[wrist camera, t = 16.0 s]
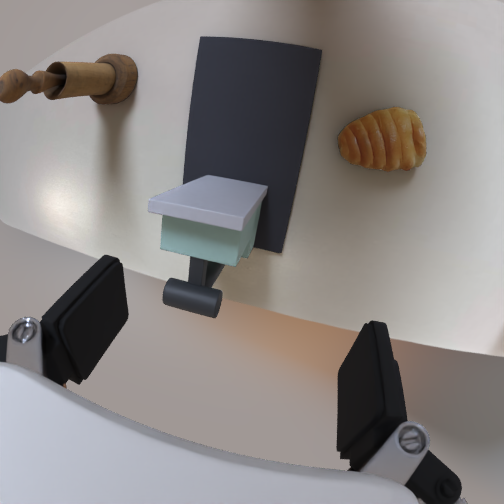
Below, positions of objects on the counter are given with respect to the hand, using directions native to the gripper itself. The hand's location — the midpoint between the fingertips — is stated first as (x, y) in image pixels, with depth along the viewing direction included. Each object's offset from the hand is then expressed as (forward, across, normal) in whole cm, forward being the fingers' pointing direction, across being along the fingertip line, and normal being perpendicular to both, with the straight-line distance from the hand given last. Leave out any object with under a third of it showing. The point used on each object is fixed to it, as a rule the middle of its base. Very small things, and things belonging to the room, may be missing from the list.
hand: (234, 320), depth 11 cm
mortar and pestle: (+25, +23, -8) cm, 35 cm away
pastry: (+25, -10, -6) cm, 27 cm away
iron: (+17, +5, +1) cm, 18 cm away
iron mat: (+24, +5, -2) cm, 25 cm away
